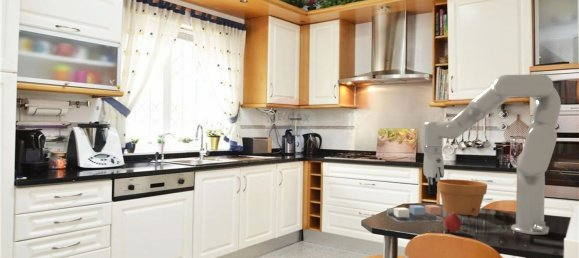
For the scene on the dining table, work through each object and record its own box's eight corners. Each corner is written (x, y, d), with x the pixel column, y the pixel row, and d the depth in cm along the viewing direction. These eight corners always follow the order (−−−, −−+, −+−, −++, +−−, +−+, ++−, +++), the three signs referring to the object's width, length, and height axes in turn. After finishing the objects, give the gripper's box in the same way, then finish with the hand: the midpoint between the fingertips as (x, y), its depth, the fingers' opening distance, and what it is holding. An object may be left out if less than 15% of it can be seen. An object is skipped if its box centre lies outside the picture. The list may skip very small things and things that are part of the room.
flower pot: (477, 210, 206) (478, 179, 206) (493, 220, 186) (494, 185, 185) (432, 208, 209) (432, 178, 208) (443, 218, 188) (444, 184, 187)
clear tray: (449, 224, 176) (449, 213, 176) (398, 225, 173) (398, 214, 173) (434, 217, 189) (434, 207, 189) (386, 218, 186) (386, 208, 186)
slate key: (425, 214, 179) (425, 207, 179) (414, 214, 179) (414, 207, 179) (420, 212, 184) (420, 205, 184) (409, 212, 183) (409, 205, 183)
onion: (447, 230, 166) (448, 209, 166) (462, 232, 163) (463, 211, 163) (442, 232, 162) (442, 211, 162) (457, 235, 158) (458, 214, 158)
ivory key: (409, 217, 178) (409, 209, 178) (398, 217, 178) (398, 209, 178) (404, 214, 183) (404, 207, 183) (393, 214, 182) (394, 207, 182)
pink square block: (440, 214, 180) (441, 207, 180) (430, 214, 180) (430, 207, 180) (435, 211, 185) (435, 205, 185) (424, 212, 184) (425, 205, 184)
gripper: (450, 151, 175) (450, 196, 175) (432, 149, 190) (432, 190, 190) (433, 151, 174) (432, 196, 174) (416, 149, 189) (416, 191, 189)
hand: (432, 193), depth 182 cm, fingers closed
